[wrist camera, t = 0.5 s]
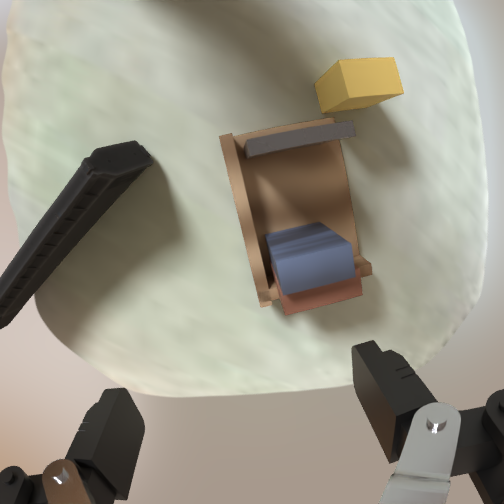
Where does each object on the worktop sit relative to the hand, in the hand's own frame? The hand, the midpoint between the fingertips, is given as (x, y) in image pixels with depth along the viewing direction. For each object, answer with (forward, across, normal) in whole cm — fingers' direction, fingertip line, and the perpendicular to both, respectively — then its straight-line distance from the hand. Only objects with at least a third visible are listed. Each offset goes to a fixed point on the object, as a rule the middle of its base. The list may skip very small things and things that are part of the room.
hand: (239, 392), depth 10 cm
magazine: (+26, +21, -4) cm, 34 cm away
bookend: (+24, -7, -8) cm, 27 cm away
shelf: (+26, -7, -1) cm, 27 cm away
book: (+26, -15, -12) cm, 32 cm away
